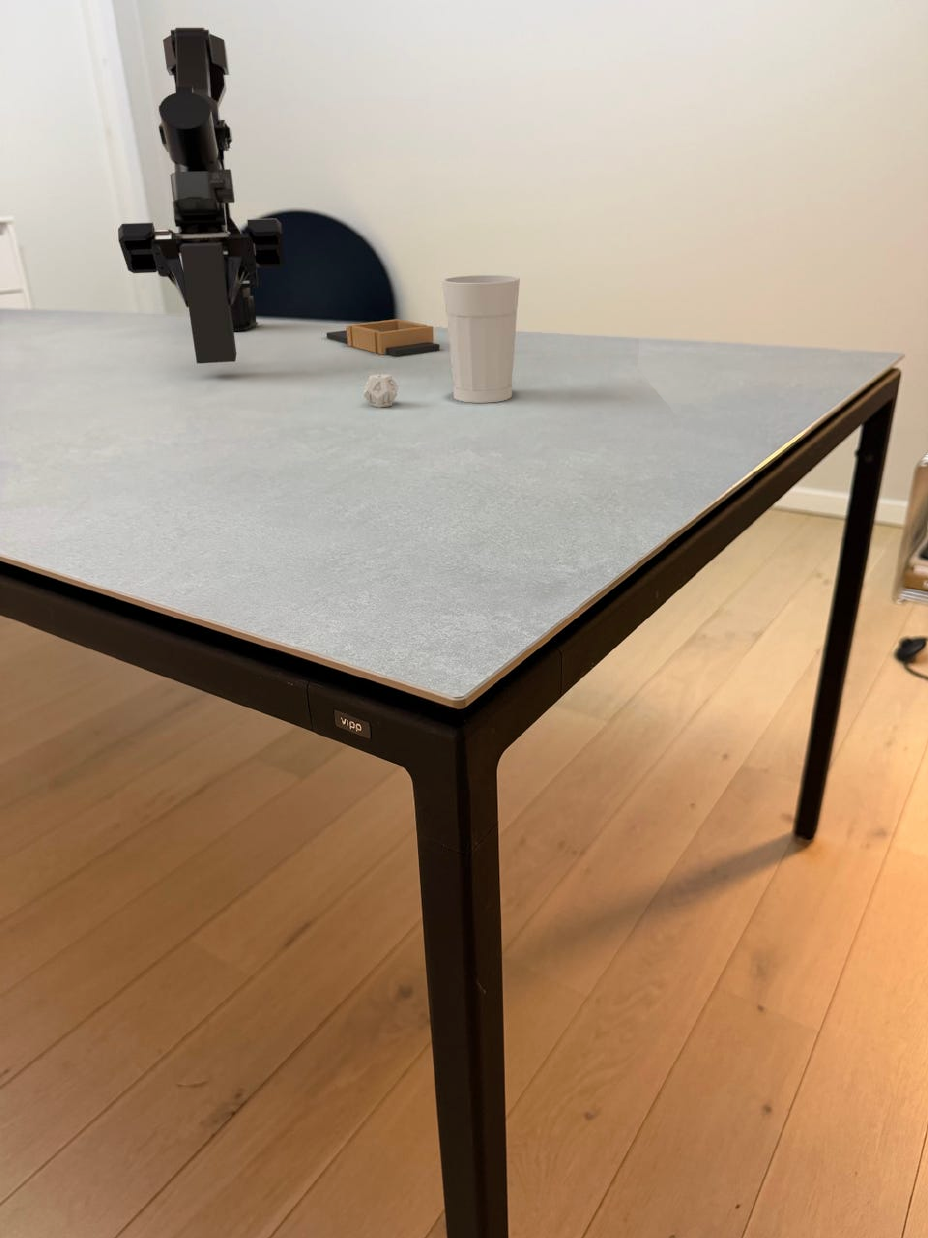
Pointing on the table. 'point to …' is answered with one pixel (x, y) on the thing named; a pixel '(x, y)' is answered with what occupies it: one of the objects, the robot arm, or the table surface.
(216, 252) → the dark rectangular block
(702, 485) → the table surface
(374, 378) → the game die
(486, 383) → the cup
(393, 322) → the wooden tray on slab
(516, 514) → the table surface
